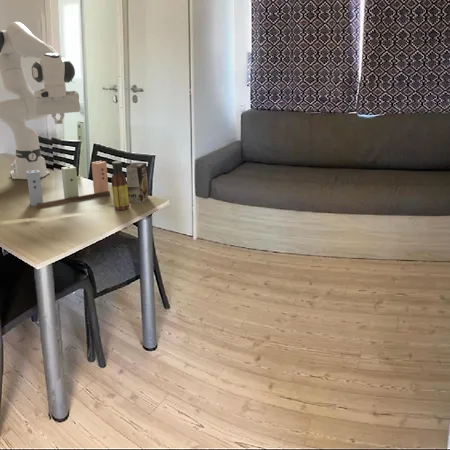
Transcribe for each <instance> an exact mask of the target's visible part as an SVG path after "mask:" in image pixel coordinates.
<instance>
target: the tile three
mask: <svg viewBox="0 0 450 450" xmlns="http://www.w3.org/2000/svg"><path fill="white" fill-rule="evenodd" d="M91 170H92V171H91V172H92V183H93V194H94V193H99V192H105V191H110V189H109V182H108V180H109V179H108V167H107V161H103V160H98V161H92V162H91Z"/></svg>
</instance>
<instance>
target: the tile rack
mask: <svg viewBox="0 0 450 450" xmlns="http://www.w3.org/2000/svg"><path fill="white" fill-rule="evenodd" d="M109 196H111V192H110V190H109V191H105V192H99V193H94V192H93V193H88V194H83V195H79V196H76V197H71V198H60V199H54V200H49V201H43V202H42V203H37V205H36V206H37V209H41V208H42V209H43V208H48V207H53V206H58V205H63V204H69V203H74V202H75V203H76V202H81V201H86V200H91V199H97V198H103V197H109Z"/></svg>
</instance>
